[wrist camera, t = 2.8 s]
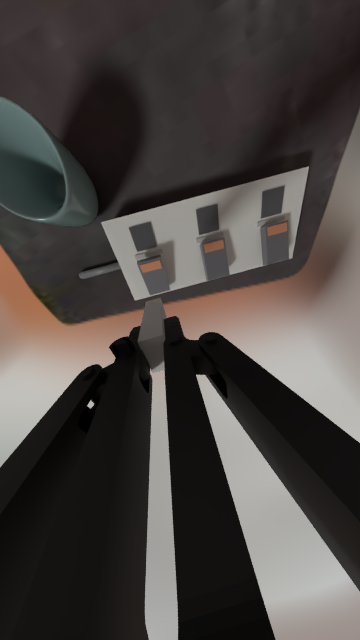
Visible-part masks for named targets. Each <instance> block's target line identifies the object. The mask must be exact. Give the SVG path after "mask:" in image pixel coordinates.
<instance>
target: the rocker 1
mask: <svg viewBox="0 0 360 640" xmlns="http://www.w3.org/2000/svg"><path fill="white" fill-rule="evenodd" d="M137 265H138V268H139V270H140V272H141V275H142V277H143V280H144V282H145V284H146V287H147V289H148V292H149V294H150V295H154V294H157V293H161V292H165V291H168V290H170V287H169V283H168V280H167V276H166V273H165V269H164V265H163V262H162V258H161V255H160V254H159V255H156V256H152V257H148V258H145V259H141V260H137Z"/></svg>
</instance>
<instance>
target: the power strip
mask: <svg viewBox="0 0 360 640" xmlns="http://www.w3.org/2000/svg"><path fill="white" fill-rule="evenodd" d="M308 169H309V166H308V167H305V168H301V169H297V170H294V171H290V172H286V173H282V174H279V175H275V176H271V177H268V178H264V179H260V180H256V181H253V182H249V183H245V184H242V185H238V186H234V187H230V188H227V189H223V190H219V191H216V192H212V193H208V194H204V195H201V196H197V197H193V198H190V199H186V200H182V201H179V202H175V203H171V204H167V205H164V206H160V207H156V208H153V209H149V210H145V211H141V212H138V213H134V214H130V215H127V216H123V217H119V218H115V219H112V220H108V221H104V222H101V223H102V226H103V228H104V230H105V233H106V235H107V237H108V240H109V242H110V244H111V246H112V249H113V251H114V253H115V256H116V258H117V260H118V262H117V263H113V264H109V265H105V266H102V267H98V268H94V269H91V270H87V271H83V272H80V273H79V277H80V278H82V279H85V278H89V277H93V276H97V275H100V274H104V273H108V272H111V271H115V270H119V269H122V272H123V274H124V276H125V279H126V281H127V283H128V285H129V288H130V290H131V292H132V295H133V297H134V299H135V300H139V299H142V298H146V297H150V296H153V295H150V294H149V292H148V289H147V287H146V284H145V282H144V280H143V277H142V275H141V272H140V270H139V268H138V265H137V260H141V259H145V258H148V257H152V256H156V255H159V254H160V255H161V258H162V262H163V265H164V269H165V273H166V276H167V280H168V283H169V287H170V290H168V291H172V290H176V289H179V288H183V287H187V286H190V285H194V284H198V283H201V282H205V281H206V276H205V270H204V265H203V260H202V255H201V250H200V244H201V243H204V242H207V241H211V240H215V239H218V238H222V237H224V238H225V245H226V252H227V259H228V266H229V273H230V275H231V274H235V273H239V272H242V271H246V270H250V269H253V268H257V267H261V266H264V265H263V261H262V247H261V233H260V229H261V228H262V227H264V226H267V225H270V224H274V223H278V222H281V221H285V220H288V229H289V259H290V258H292V255H293V250H294V244H295V239H296V234H297V228H298V223H299V218H300V212H301V207H302V201H303V196H304V191H305V185H306V180H307V175H308ZM286 260H287V259H286ZM275 263H276V262H275ZM223 277H224V276H223ZM212 280H213V279H212ZM168 291H165V292H168ZM161 293H164V292H161ZM161 293H157V294H161ZM157 294H154V295H157Z"/></svg>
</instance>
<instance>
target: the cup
mask: <svg viewBox="0 0 360 640" xmlns="http://www.w3.org/2000/svg"><path fill="white" fill-rule="evenodd" d="M0 205H1V206H3V207H4V208H6V209H7V210H9V211H11V212H12V213H14V214H16V215H18V216H21V217H23V218H26V219H29V220H32V221H36V222H41V223H47V224H52V225H58V226H65V227H82V226H86V225H89V224H91V223H92V222H93V221H94V220H95V219H96V217H97V214H98V208H99V204H98V197H97V192H96V190H95V187H94V184H93V182H92V181H91V179H90V177H89V175H88V173H87V172H86V171H85V169H84V168H83V166H82V165H81V164H80V162H79V161H78V160H77V159H76V158H75V157H74V155H73V154H72V153H71V152H70V151H69V150H68V149H67V148H66V147H65V146H64V145H63V144H62V143H61V142H60V141H59V140H58V139H57V138H56V137H55V136H54V135H53V134H52V133H51V132H50V131H49V130H48V129H47V128H46V127H45V126H44V125H43V123H41V122H40V121H39V120H38V119H37V118H36V117H35V116H34V115H32V114H31V113H30V112H28V111H27V110H26V109H24V108H23V107H22V106H20V105H18V104H17V103H15V102H13V101H11V100H9V99H7V98H5V97H2V96H0Z"/></svg>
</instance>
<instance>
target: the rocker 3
mask: <svg viewBox="0 0 360 640" xmlns="http://www.w3.org/2000/svg"><path fill="white" fill-rule="evenodd" d="M260 233H261V247H262V261H263V265H268V264H272V263H275V262H279V261H283V260H286V259H289V229H288V220H285V221H281V222H278V223H274V224H270V225H267V226H264V227H262V228H261V229H260Z"/></svg>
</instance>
